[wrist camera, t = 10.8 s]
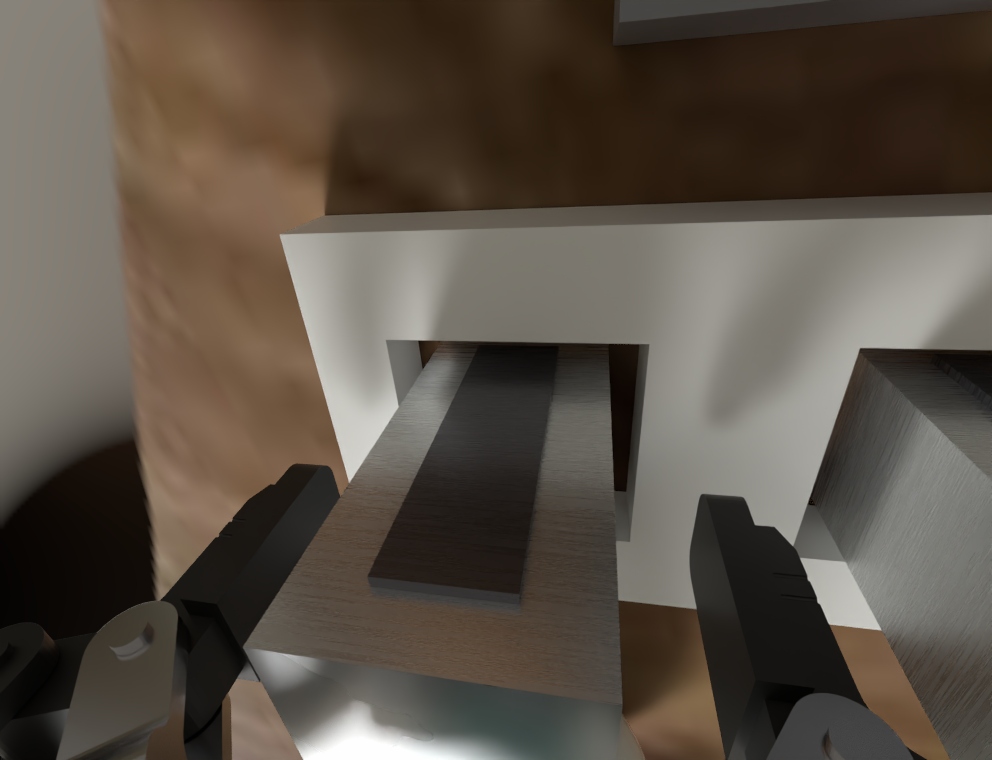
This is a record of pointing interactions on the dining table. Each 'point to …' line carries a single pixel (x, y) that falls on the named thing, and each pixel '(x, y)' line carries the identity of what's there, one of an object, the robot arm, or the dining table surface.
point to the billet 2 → (921, 523)
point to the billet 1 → (463, 574)
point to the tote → (762, 16)
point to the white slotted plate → (662, 337)
